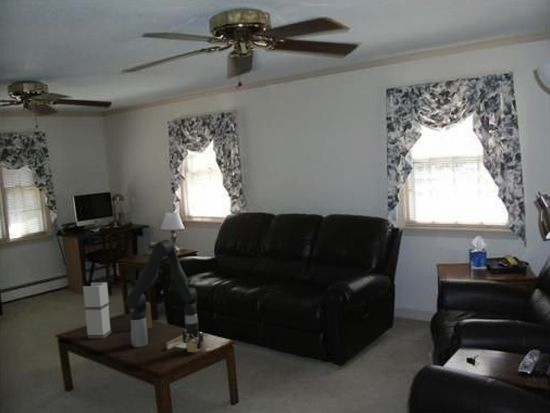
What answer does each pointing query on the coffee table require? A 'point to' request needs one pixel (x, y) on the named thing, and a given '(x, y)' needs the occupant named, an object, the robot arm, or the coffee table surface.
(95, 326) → the stacked white cabinet
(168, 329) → the coffee table surface
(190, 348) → the ochre cube
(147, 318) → the wooden block
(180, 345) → the pad
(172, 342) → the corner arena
